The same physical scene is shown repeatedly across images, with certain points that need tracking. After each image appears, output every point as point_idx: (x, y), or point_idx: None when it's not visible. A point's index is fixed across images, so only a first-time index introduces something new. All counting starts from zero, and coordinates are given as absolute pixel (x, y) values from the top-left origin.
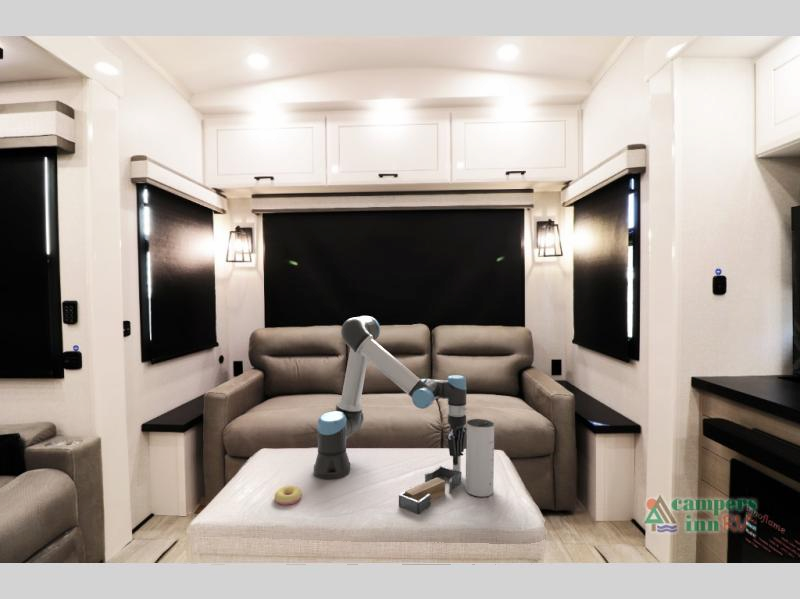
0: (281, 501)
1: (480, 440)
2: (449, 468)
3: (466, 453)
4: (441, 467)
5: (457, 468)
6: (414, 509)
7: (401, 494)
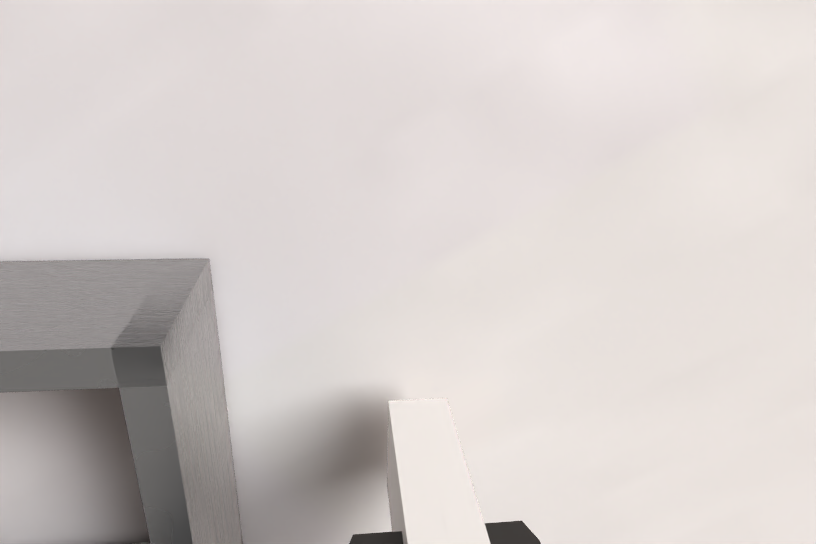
0: None
1: None
2: (188, 531)
3: None
4: (125, 388)
5: (392, 519)
6: None
7: None
